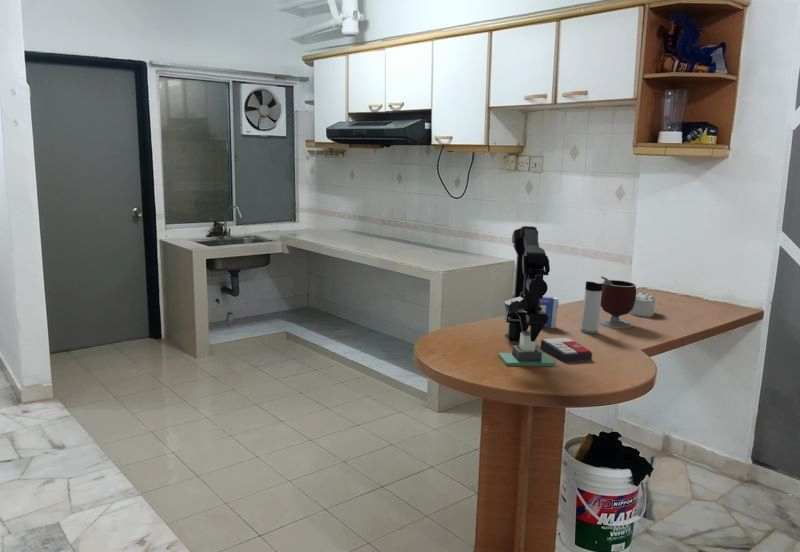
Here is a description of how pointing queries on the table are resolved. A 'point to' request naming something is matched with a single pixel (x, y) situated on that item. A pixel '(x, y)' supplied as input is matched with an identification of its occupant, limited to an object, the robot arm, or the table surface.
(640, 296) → the lumpy-topped squat cylinder
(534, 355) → the board
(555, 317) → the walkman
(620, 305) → the mate gourd
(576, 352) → the dark panelled flat block
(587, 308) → the travel mug
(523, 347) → the plug
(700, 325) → the table surface
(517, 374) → the table surface
